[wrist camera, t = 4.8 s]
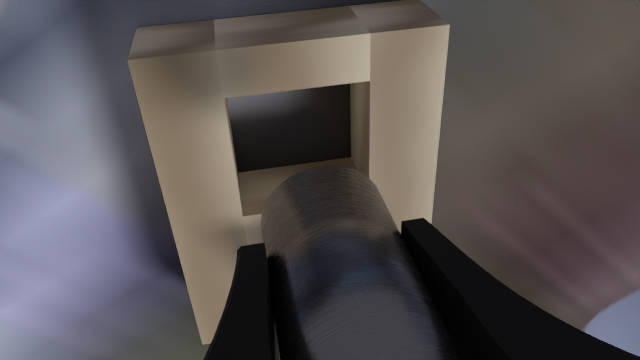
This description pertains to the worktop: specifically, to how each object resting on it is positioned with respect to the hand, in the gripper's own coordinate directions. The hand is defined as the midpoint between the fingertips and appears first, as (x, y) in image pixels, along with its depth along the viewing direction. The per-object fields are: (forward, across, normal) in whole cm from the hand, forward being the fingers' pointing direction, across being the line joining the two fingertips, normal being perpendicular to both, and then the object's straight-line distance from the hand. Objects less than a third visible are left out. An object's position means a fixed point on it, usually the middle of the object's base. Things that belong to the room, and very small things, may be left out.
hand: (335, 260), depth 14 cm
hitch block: (+9, 0, +2) cm, 9 cm away
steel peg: (+2, 0, 0) cm, 2 cm away
